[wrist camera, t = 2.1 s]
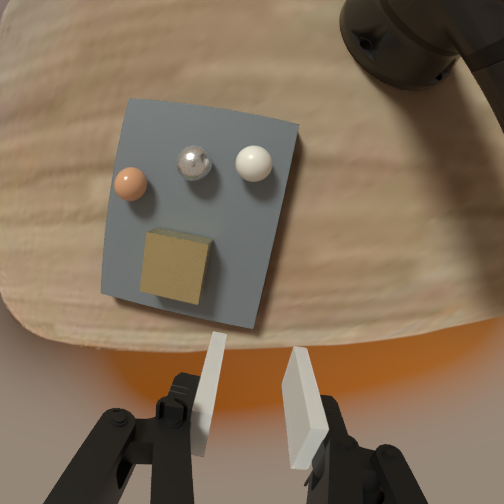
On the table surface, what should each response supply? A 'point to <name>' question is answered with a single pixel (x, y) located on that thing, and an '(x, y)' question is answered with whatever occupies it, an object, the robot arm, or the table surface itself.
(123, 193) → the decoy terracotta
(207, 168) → the steel ball
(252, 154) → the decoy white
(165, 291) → the brass cover
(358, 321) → the table surface
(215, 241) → the slate plate
